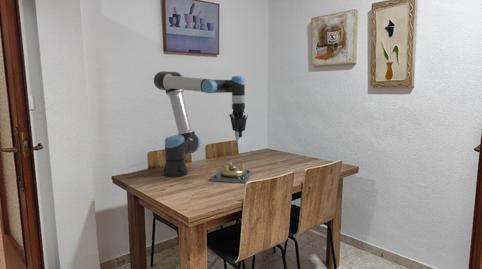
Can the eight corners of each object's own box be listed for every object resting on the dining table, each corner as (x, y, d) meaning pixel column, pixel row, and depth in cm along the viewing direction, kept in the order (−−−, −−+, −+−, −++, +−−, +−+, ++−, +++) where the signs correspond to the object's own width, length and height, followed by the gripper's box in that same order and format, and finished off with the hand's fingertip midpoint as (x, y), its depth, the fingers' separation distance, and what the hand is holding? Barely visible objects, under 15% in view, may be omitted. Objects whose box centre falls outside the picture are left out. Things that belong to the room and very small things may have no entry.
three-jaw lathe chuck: (217, 176, 198) (217, 165, 197) (224, 170, 211) (224, 160, 210) (241, 177, 195) (241, 166, 194) (246, 171, 208) (246, 161, 207)
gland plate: (211, 181, 196) (211, 176, 195) (220, 172, 215) (220, 168, 215) (245, 183, 191) (245, 178, 191) (252, 174, 211) (252, 170, 210)
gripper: (251, 102, 199) (251, 142, 203) (234, 102, 208) (234, 140, 212) (242, 103, 194) (242, 144, 197) (225, 102, 203) (226, 142, 206)
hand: (238, 142), depth 204 cm, fingers closed
